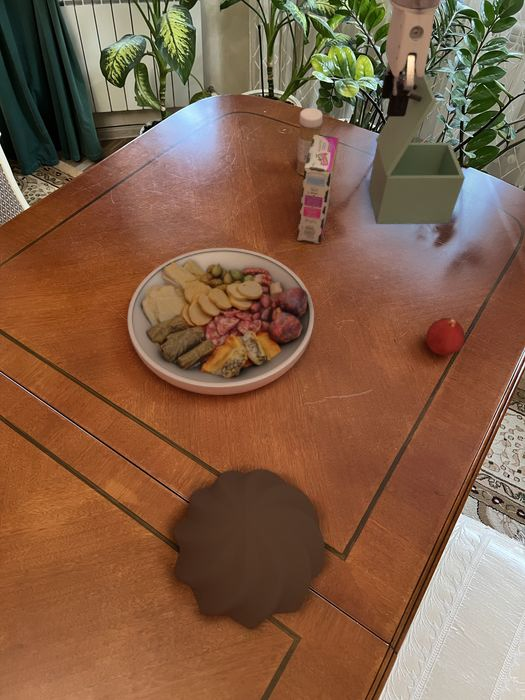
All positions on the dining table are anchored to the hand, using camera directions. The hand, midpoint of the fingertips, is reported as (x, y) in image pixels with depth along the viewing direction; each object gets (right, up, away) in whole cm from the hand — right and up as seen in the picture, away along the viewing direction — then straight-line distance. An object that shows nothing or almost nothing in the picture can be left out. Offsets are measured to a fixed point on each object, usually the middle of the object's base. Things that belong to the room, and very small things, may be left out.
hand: (392, 105), depth 101 cm
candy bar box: (-13, -18, +13) cm, 26 cm away
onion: (+6, -43, -6) cm, 44 cm away
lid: (+3, -2, +3) cm, 4 cm away
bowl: (-30, -40, -4) cm, 50 cm away
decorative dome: (-25, -69, -26) cm, 77 cm away
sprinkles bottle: (-13, -4, +24) cm, 28 cm away
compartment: (+7, -13, +17) cm, 23 cm away
